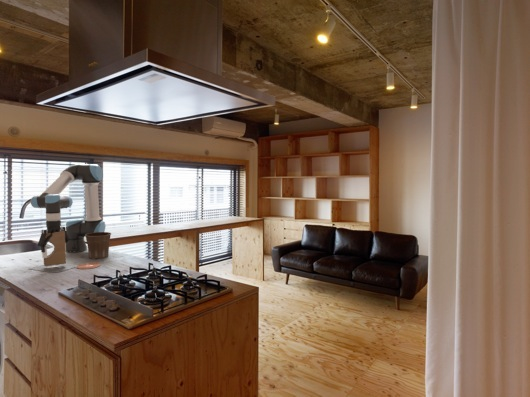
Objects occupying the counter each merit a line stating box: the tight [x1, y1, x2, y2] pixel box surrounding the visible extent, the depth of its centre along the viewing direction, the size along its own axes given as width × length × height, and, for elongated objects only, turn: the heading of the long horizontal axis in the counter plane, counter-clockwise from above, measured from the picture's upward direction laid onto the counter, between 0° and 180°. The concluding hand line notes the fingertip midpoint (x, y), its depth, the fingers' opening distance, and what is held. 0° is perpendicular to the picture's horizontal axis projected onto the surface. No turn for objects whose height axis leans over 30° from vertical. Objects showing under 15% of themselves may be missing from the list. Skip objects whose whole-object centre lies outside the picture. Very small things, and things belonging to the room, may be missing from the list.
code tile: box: [29, 263, 78, 274], centre depth 200 cm, size 16×22×1 cm
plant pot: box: [85, 231, 112, 260], centre depth 228 cm, size 16×16×16 cm
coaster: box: [75, 262, 101, 270], centre depth 205 cm, size 13×13×1 cm
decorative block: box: [43, 230, 67, 266], centre depth 200 cm, size 11×6×20 cm, turn 126°
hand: (54, 255), depth 200 cm, fingers open, 12 cm apart
